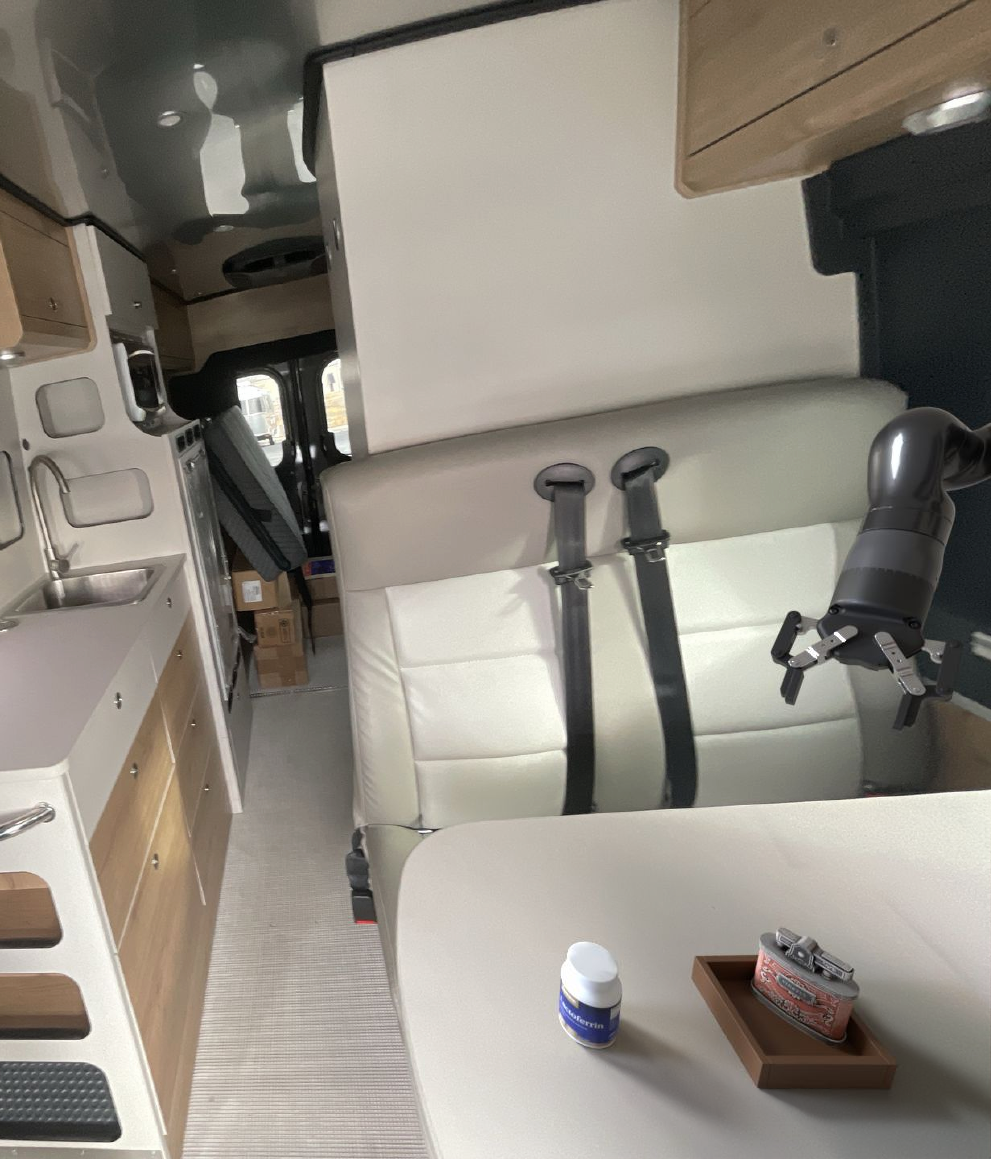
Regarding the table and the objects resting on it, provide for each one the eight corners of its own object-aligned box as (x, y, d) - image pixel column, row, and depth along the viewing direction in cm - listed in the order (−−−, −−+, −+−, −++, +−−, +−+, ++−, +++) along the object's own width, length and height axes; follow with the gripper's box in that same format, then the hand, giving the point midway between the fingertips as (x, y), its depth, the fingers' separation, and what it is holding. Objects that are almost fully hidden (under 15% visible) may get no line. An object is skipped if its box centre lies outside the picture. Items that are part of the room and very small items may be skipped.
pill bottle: (549, 1028, 73) (552, 964, 69) (569, 989, 77) (573, 927, 73) (607, 1063, 69) (613, 997, 65) (625, 1021, 73) (632, 956, 69)
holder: (803, 976, 74) (809, 953, 73) (890, 1089, 63) (898, 1064, 62) (691, 978, 76) (694, 955, 74) (756, 1088, 65) (762, 1064, 64)
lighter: (743, 991, 73) (756, 925, 69) (759, 975, 74) (773, 909, 71) (835, 1054, 66) (855, 984, 63) (851, 1035, 67) (872, 966, 64)
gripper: (799, 554, 75) (753, 684, 73) (988, 579, 65) (940, 732, 62) (804, 581, 80) (761, 704, 78) (980, 608, 69) (935, 751, 67)
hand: (840, 716), depth 70 cm, fingers open, 8 cm apart
